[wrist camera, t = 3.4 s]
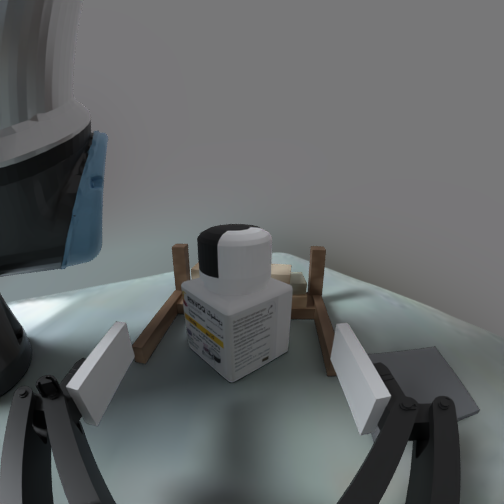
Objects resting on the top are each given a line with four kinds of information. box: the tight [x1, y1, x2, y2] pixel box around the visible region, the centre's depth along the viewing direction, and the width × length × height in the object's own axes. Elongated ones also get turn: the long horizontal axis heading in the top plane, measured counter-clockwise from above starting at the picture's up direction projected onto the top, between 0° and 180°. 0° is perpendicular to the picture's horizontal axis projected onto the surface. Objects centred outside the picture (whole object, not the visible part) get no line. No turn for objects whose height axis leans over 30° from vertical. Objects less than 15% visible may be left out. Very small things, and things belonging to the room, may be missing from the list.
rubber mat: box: [367, 346, 480, 442], centre depth 19 cm, size 11×11×1 cm
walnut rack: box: [132, 244, 337, 376], centre depth 30 cm, size 21×17×8 cm
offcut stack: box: [191, 262, 307, 308], centre depth 35 cm, size 16×5×4 cm, turn 86°
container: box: [181, 224, 293, 382], centre depth 25 cm, size 8×8×13 cm
